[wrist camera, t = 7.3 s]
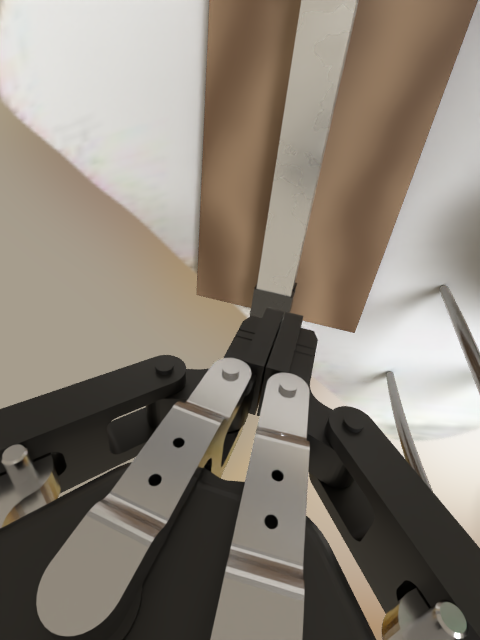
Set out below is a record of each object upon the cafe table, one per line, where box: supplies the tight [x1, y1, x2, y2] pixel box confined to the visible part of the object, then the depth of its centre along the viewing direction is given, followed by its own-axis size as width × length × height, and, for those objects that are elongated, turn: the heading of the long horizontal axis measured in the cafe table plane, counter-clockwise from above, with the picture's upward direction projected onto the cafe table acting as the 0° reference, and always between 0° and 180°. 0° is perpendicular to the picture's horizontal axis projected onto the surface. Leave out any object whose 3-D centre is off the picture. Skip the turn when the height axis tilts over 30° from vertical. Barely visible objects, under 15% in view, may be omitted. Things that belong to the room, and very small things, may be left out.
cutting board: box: [197, 0, 478, 333], centre depth 26 cm, size 16×28×2 cm, turn 173°
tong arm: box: [250, 0, 357, 318], centre depth 25 cm, size 4×24×1 cm, turn 173°
